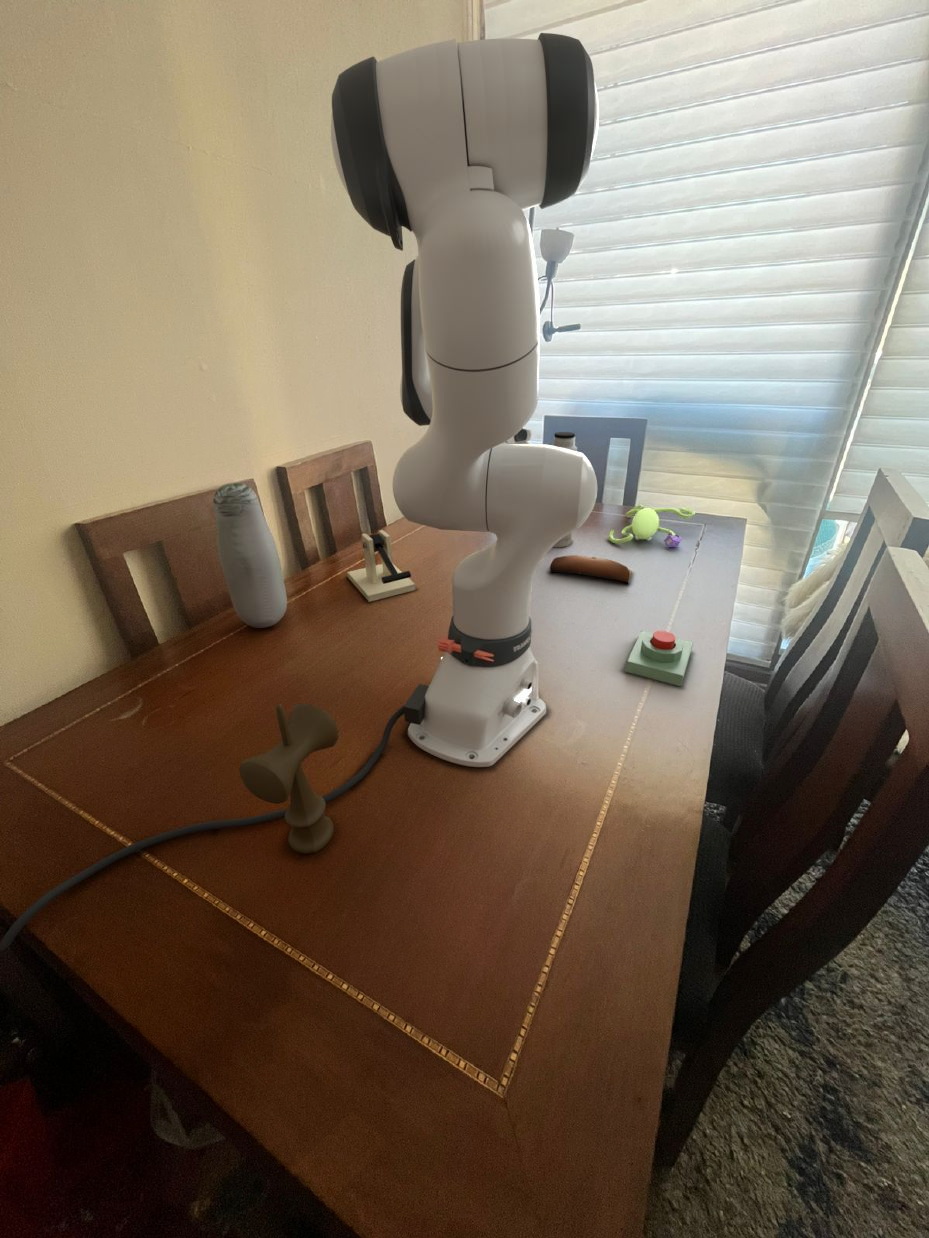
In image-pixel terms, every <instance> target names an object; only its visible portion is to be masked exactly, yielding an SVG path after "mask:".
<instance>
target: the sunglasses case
mask: <svg viewBox="0 0 929 1238" xmlns="http://www.w3.org/2000/svg"><path fill="white" fill-rule="evenodd" d="M549 572H550V573H552V572H553V573H554V572H555V573H565V574H579V575H583V576H589V577H597V578H601V579H608V580H614V581H621V582H626V583H627V584H628V585H629V584H630V581H631V577H632V570H631V569H629V568H628V567H627V566H626V565H624V564H622V563H619V562H618V561H615V560H612V559H609V558H608V559H606V558H597V557H594V556H584V555H579V554H578V555H577V554H574V555H573V554H572V555H571V554H570V555H561V556H558V557H557V556H556V557H554V558H553V560H552V561H551V563H550V567H549Z"/></svg>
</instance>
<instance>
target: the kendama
mask: <svg viewBox="0 0 929 1238" xmlns="http://www.w3.org/2000/svg"><path fill="white" fill-rule="evenodd" d="M275 710H276V711H275V712H276V718H277V724H278V728H279V732H280V738H281V740H280V741H278V743H277V744H275V746H274V747H272V748H271V749H270V750H267V751H266V752H264V753H261V754H259V755H255V756H252V757H249V758H246V759H244V760H243V761H242V762H241V763H240V766H239V768H238V771H239V777H240V779H241V781H242V782H243V785H244V786H245V787H246V789H247V790H248V791H249V792H250V793H251V794H252V795H253V796H254V797H256V798H258V799H259V800H261V801H264V802H266V803H270V804H273V805H275V804H276V805H279V804H284V803H286V802H287V800H288V798H289V805H288V806H287V808H286V809H287V810H286V812H285V817H284V818H283V819H284V820H285V823H286V824H287V825H288V826H289V827H291V829H290V831H289V833H288V838H287V839H288V840H287V843H288V845H289V846H290V847H291V849H292V850H293V851H295V852H297V853H299V854H305V855H308V854H314V853H317V852H318V851H321V849H323V848H324V847H326V846H327V845H328V843H329V842H330V841H331V840H332V837H333V835H334V833H335V832H334V831H335V823H334V822H333V821H332V819H331V818H330V817H329V816H328V815H325V812H326V805H327V803H326V802H325V801H324V799H323V796H321V795H319V794H318V793H315V792H314V791H313V789H312V787H311V784H310V783H309V780H308V778H307V776H306V773H305V771H304V768H303V766H302V764H303V762H304V761H305V760H306V759H307V758H309V756H311V754H312V753H314V752H317V751H322V750H326V749H329V748H330V749H331V748H333V747H334V746H335V745H336V743H337V742H338V740H339V729H338V726H337V723H336V721H335V720H334V719H333V717H332V716H331V715H330V713H328V712H327V711H325V710H324V709H323V708H321V707H320V706H316V705H315V704H311V703H304V702H303V703H302V702H301V703H299V704H296V705H294V706H293V707H292V709H291V711H290V714H289V717H288V718H287V715H286V712H285V709H284V707H283V706H282V704H279V703H278V704H277V705H276V707H275Z"/></svg>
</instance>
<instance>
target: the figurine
mask: <svg viewBox="0 0 929 1238" xmlns="http://www.w3.org/2000/svg"><path fill="white" fill-rule="evenodd" d="M643 507H644V505H643V504H637V505H635V506H634V507H632V508H631V509H630V510H629V511H627V512H626V513H624V515H625V518H631V517H632V516H633V515H634V516H633V519H632V520H631V524H630V525H627V526H626V527H624V528H623V529H622V530H621V534H622V535H624V536H625V537H622V538H614V533H615V530H614V529H611V530H610V531H609V533H608V539H609V541H610V542H611V543H612V544H618V545H619V544H624V543H628V542H630V541H632V540H633V538H635V540H636V541H639V540H646V541H650V542H651V540H652V537H653V536H654V535H655V533H656V532H659V533H664V534H667V536H666V537H665V539H663V542H664V543H665V545H666V546H667V547H669V548H677V547H678V545H679V544H680V543H681V540H682V537H681V536H680V535H679V533H675V532H674V531H673V530H672V529H668V528H664V527H661V526H660V518H659V515H658V513H673V514H675V515H677V516H678V517H679V518H680V519H685V520H686V519H690V518H692V517H694V516H695V514H696V512H695V511H694V510H690V509H688V508H685V507H683V506H682V507H679V509H677V508H673V507H658V508H650V507H644V508H643ZM631 530H632V532H633V534H634V535H633V534H632V533H630V532H628V531H631Z"/></svg>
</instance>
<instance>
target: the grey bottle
mask: <svg viewBox="0 0 929 1238" xmlns="http://www.w3.org/2000/svg"><path fill="white" fill-rule="evenodd" d="M212 504H213V510H214V517H215V524H216V545H217V554H218V558H219V563H220V567H221V570H222V574H223V577H224V581H225V583H226V586H227V590H228V594H229V597H230V600H231V603H232V606H233V609H234V611H235V614H236V615H237V617H238V619H240V621H241V622H243V623H245V624H246V625H248V626H249V627H252V628H255V629H265V628H270V627H273V626H274V625H276V624H277V623H279V622H280V621H281V620H282V619H283V617H284V616H285V614H286V611H287V608H288V598H287V591H286V590H287V589H286V585H285V581H284V580H285V579H284V576H283V571H282V570H283V569H282V565H281V561H280V554H279V550H278V547H277V543H276V540H275V538H274V536H273V533H272V531H271V529H270V527H269V525H268V523H267V521H266V518H265V516H264V512H263V510H262V507H261V504H260V501H259V498H258V496H257V494H256V493H255V491H254V490H253V489H252V488H251V487H250V486H248V485H247V484H244V483H240V482H232V483H227V484H223V485H222V486H220V487H219V488H217V490H216V491H215V493H214V495H213V503H212Z"/></svg>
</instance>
